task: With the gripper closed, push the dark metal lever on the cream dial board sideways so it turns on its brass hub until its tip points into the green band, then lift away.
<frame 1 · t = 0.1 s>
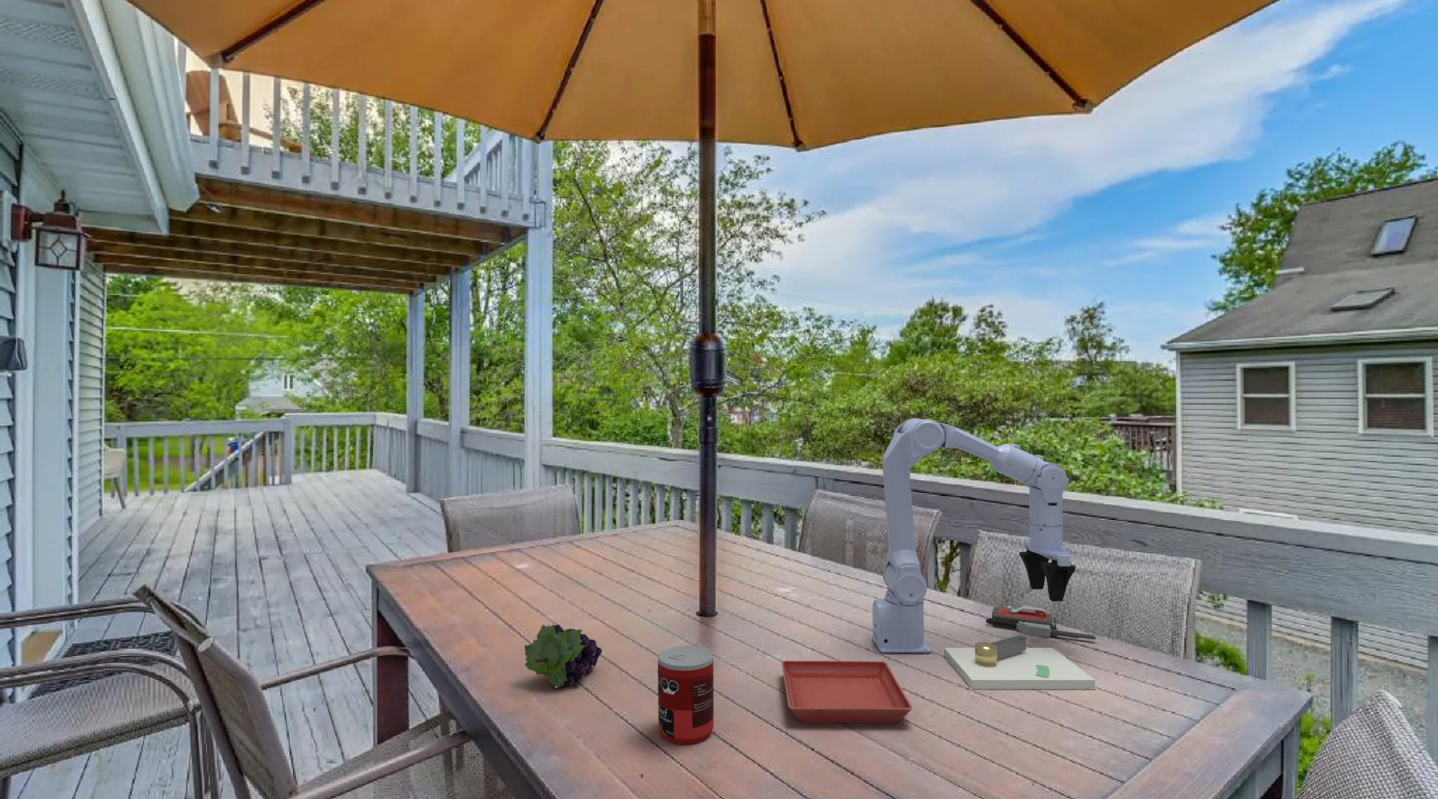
hand: (1046, 594, 125), 10 cm above the table, tool pointing down, fingers open, 7 cm apart
canned food: (686, 733, 94), on the table
walkie-talkie: (1038, 632, 134), on the table
dial board: (1014, 671, 114), on the table
fruit: (566, 681, 112), on the table
plant saucer: (841, 703, 103), on the table
dial lever: (1001, 649, 116), point 3 cm above the table, hinge at 30.0°
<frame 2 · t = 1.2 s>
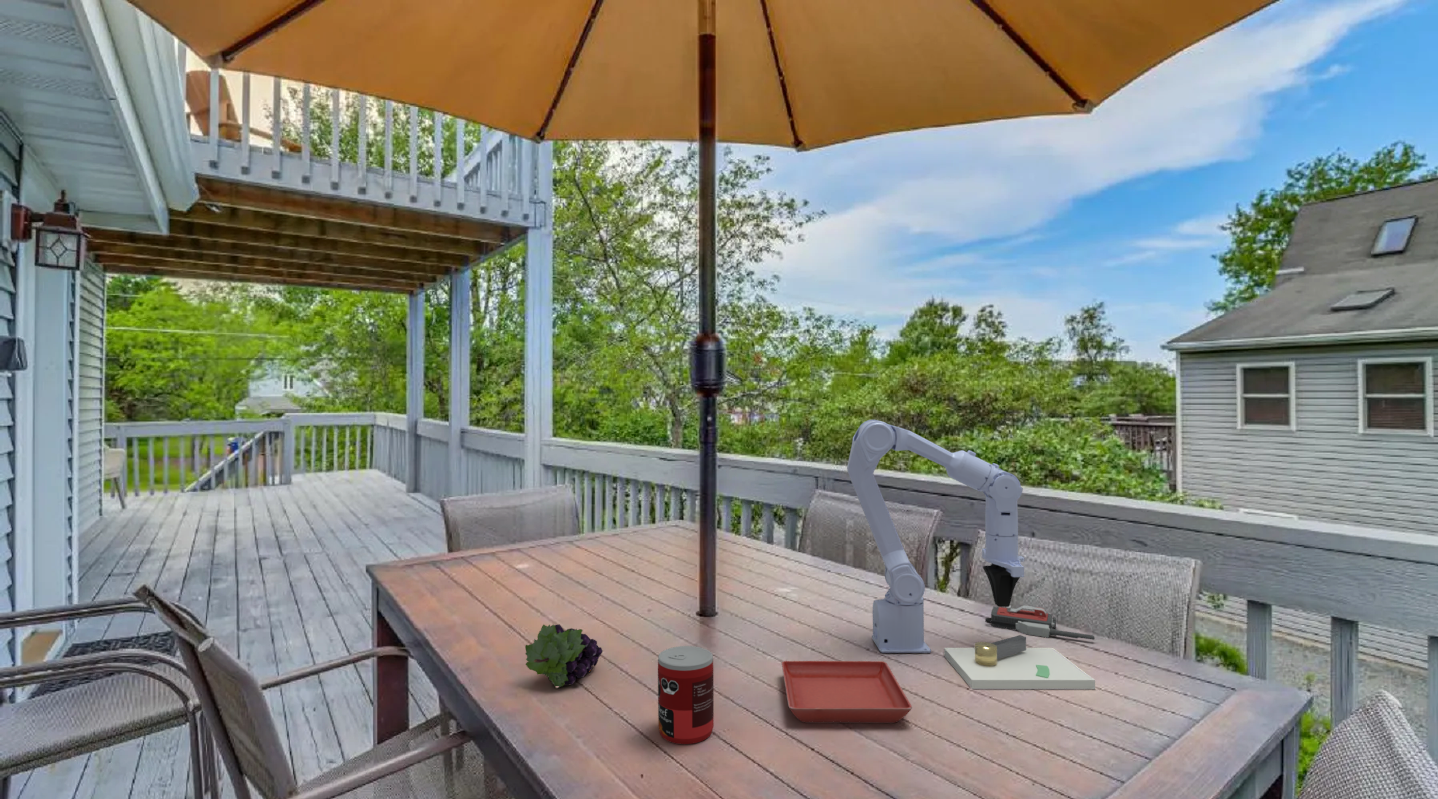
hand: (1002, 605, 124), 8 cm above the table, tool pointing down, fingers closed
nothing on the table moved.
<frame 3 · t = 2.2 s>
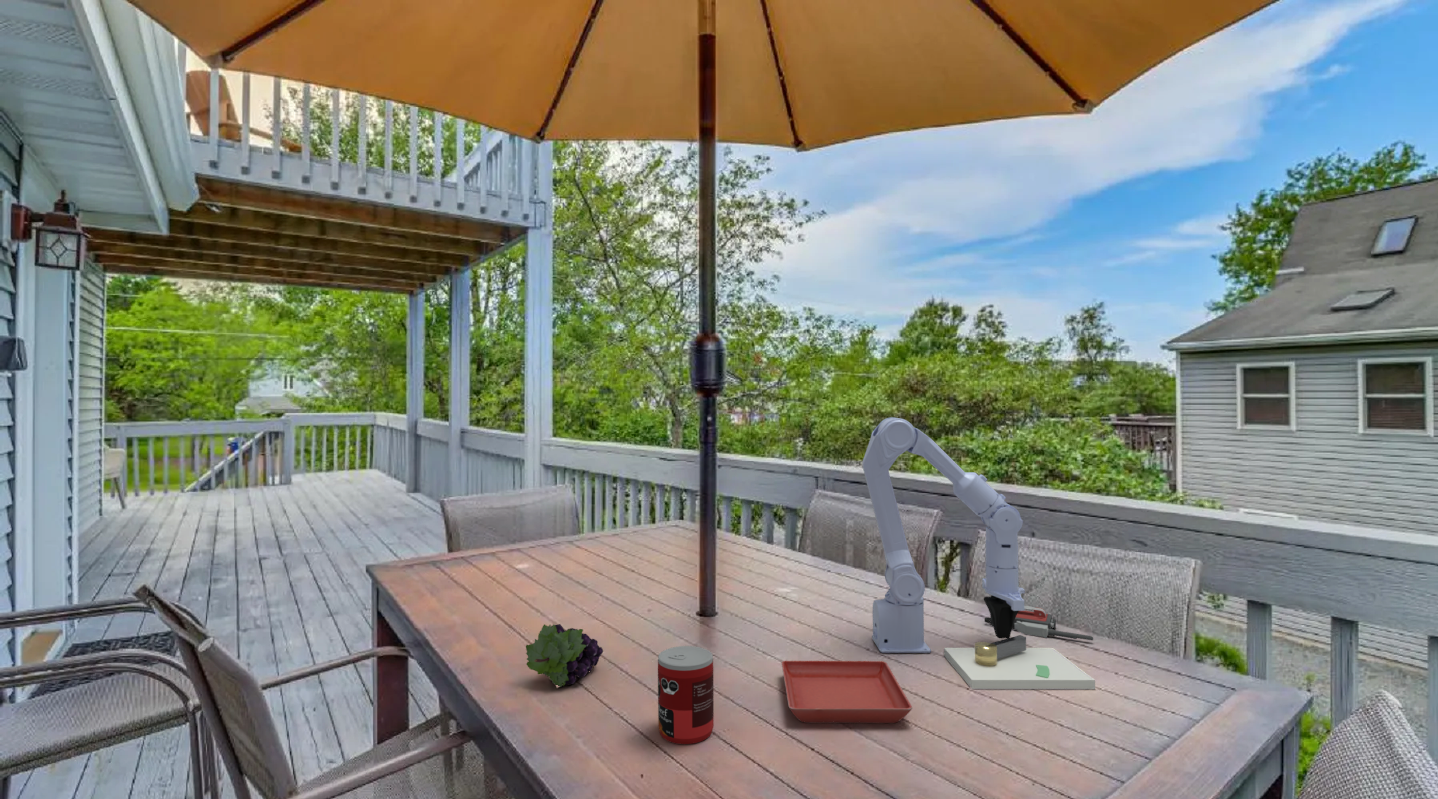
hand: (1002, 637, 124), 2 cm above the table, tool pointing down, fingers closed
nothing on the table moved.
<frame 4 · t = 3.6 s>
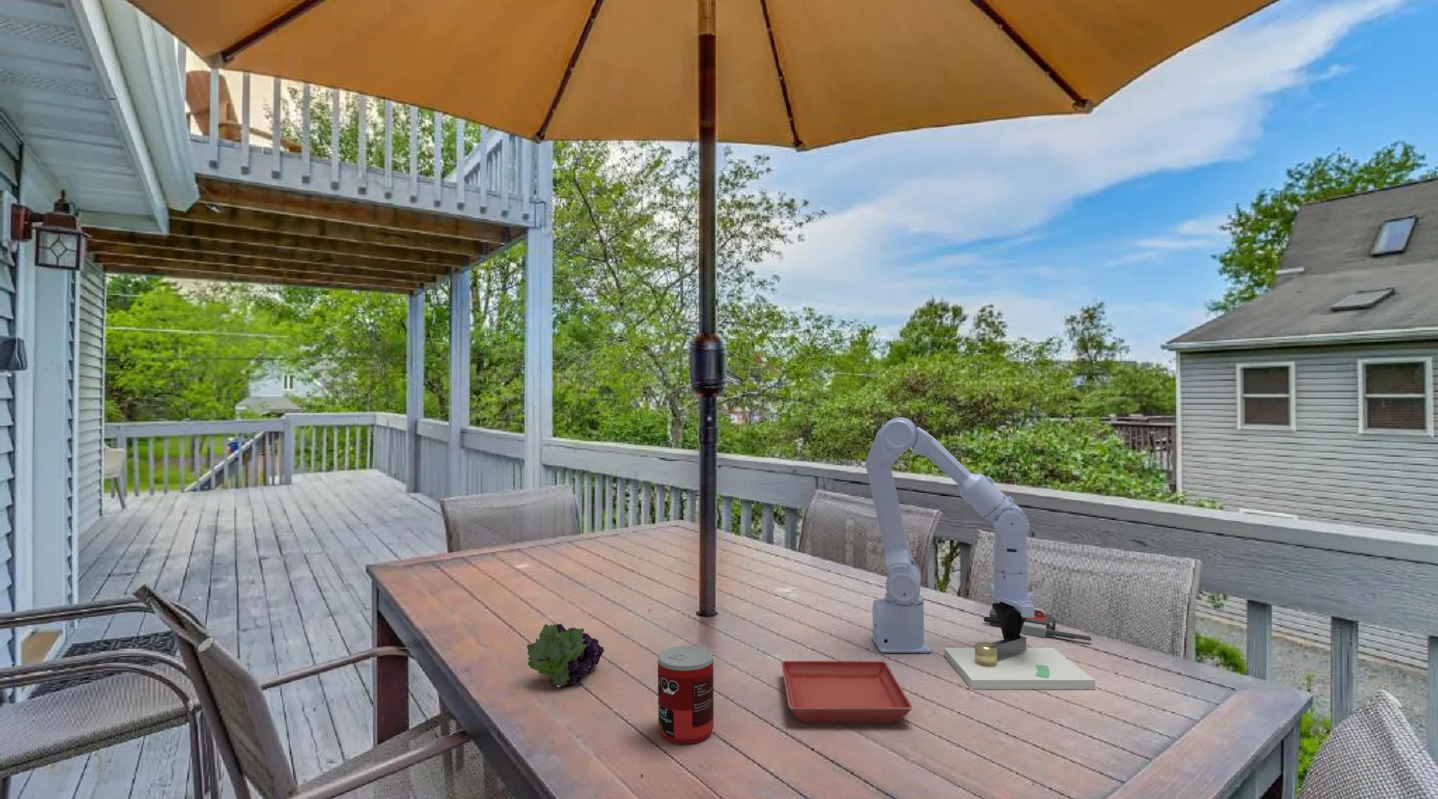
hand: (1011, 644, 120), 2 cm above the table, tool pointing down, fingers closed
dial lever: (1001, 649, 116), point 3 cm above the table, hinge at 29.6°, touching gripper
everything else where it was.
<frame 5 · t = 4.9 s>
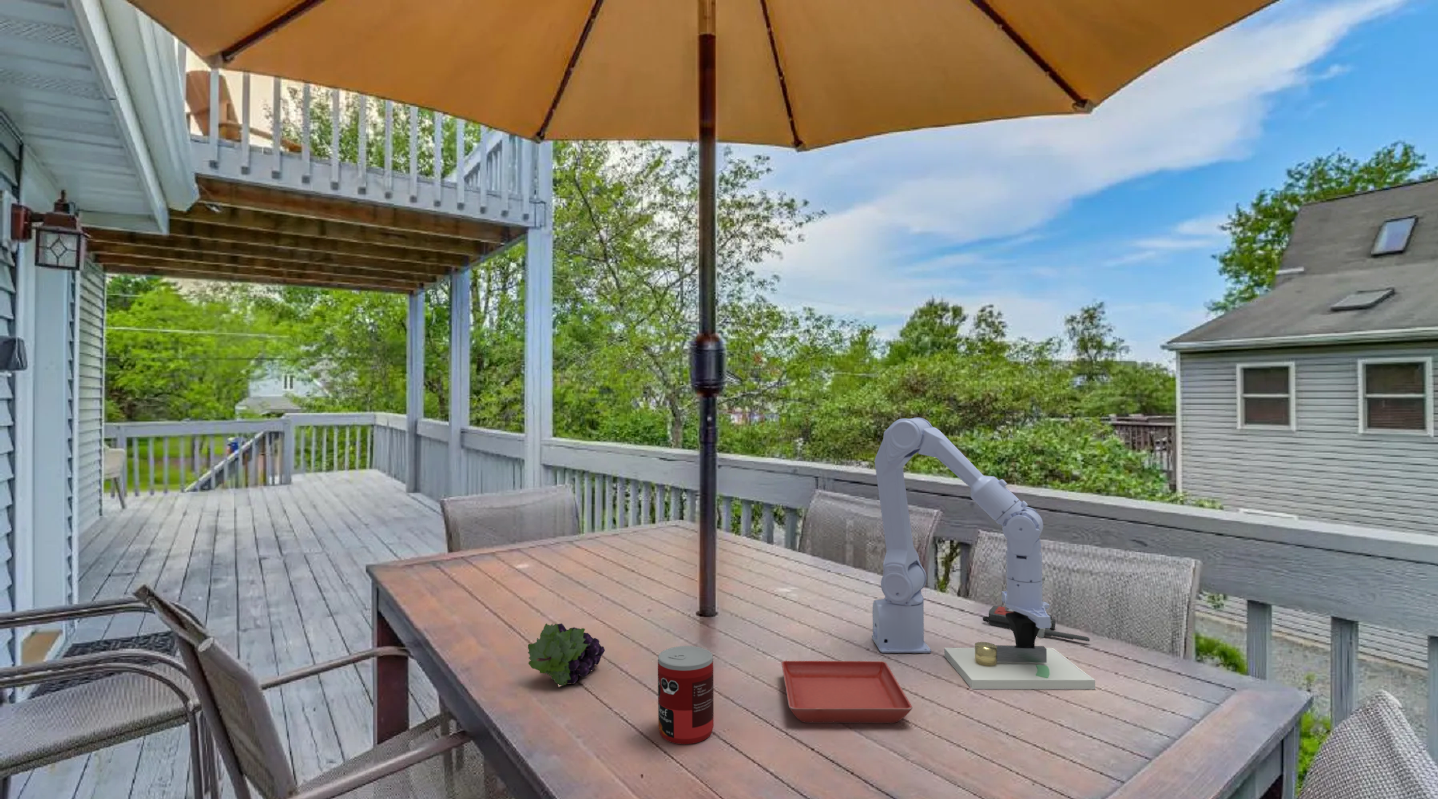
hand: (1025, 655, 114), 2 cm above the table, tool pointing down, fingers closed, pressing on dial lever
dial lever: (1010, 653, 113), point 3 cm above the table, hinge at -3.2°, touching gripper
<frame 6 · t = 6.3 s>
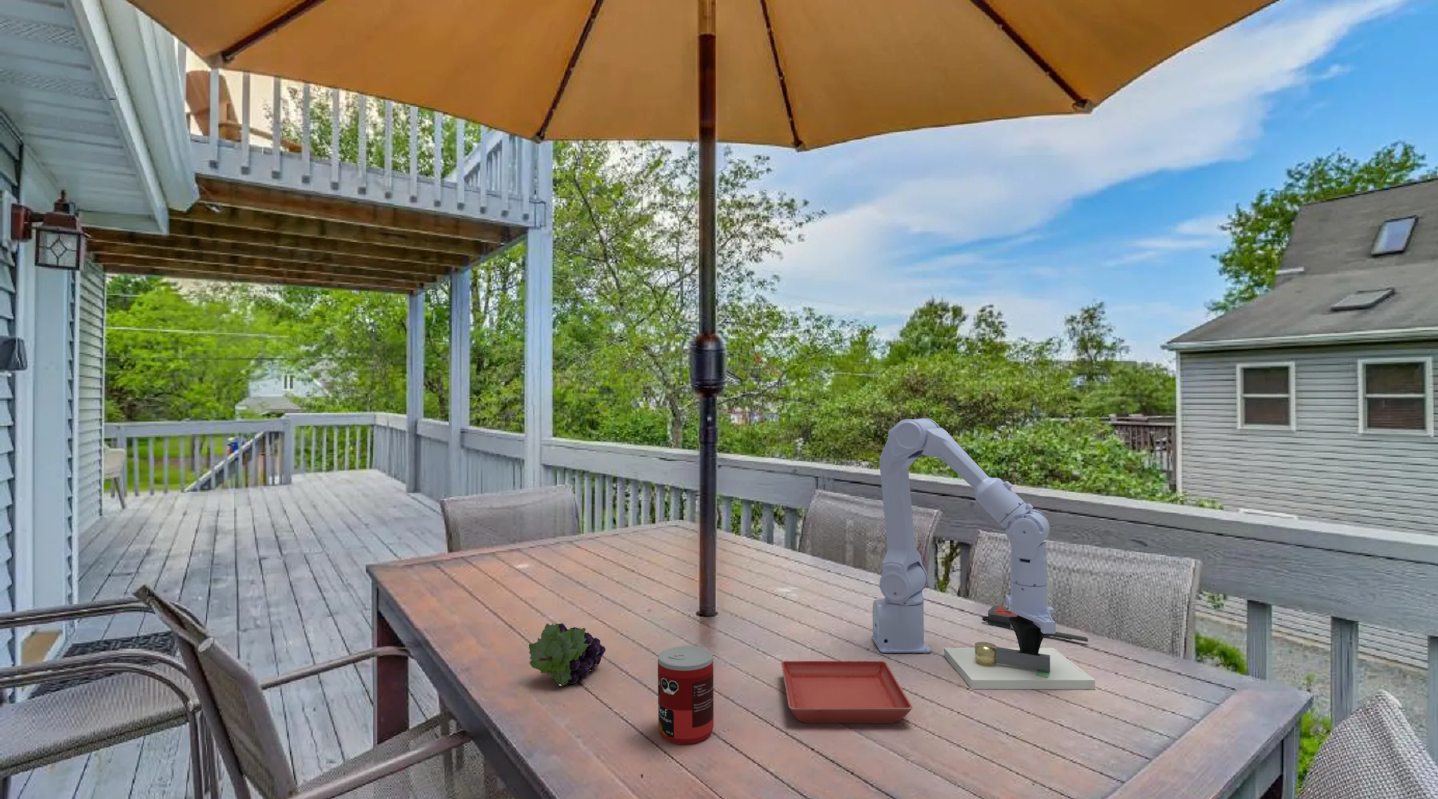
hand: (1029, 660, 112), 2 cm above the table, tool pointing down, fingers closed
dial lever: (1011, 657, 112), point 3 cm above the table, hinge at -27.0°, touching gripper
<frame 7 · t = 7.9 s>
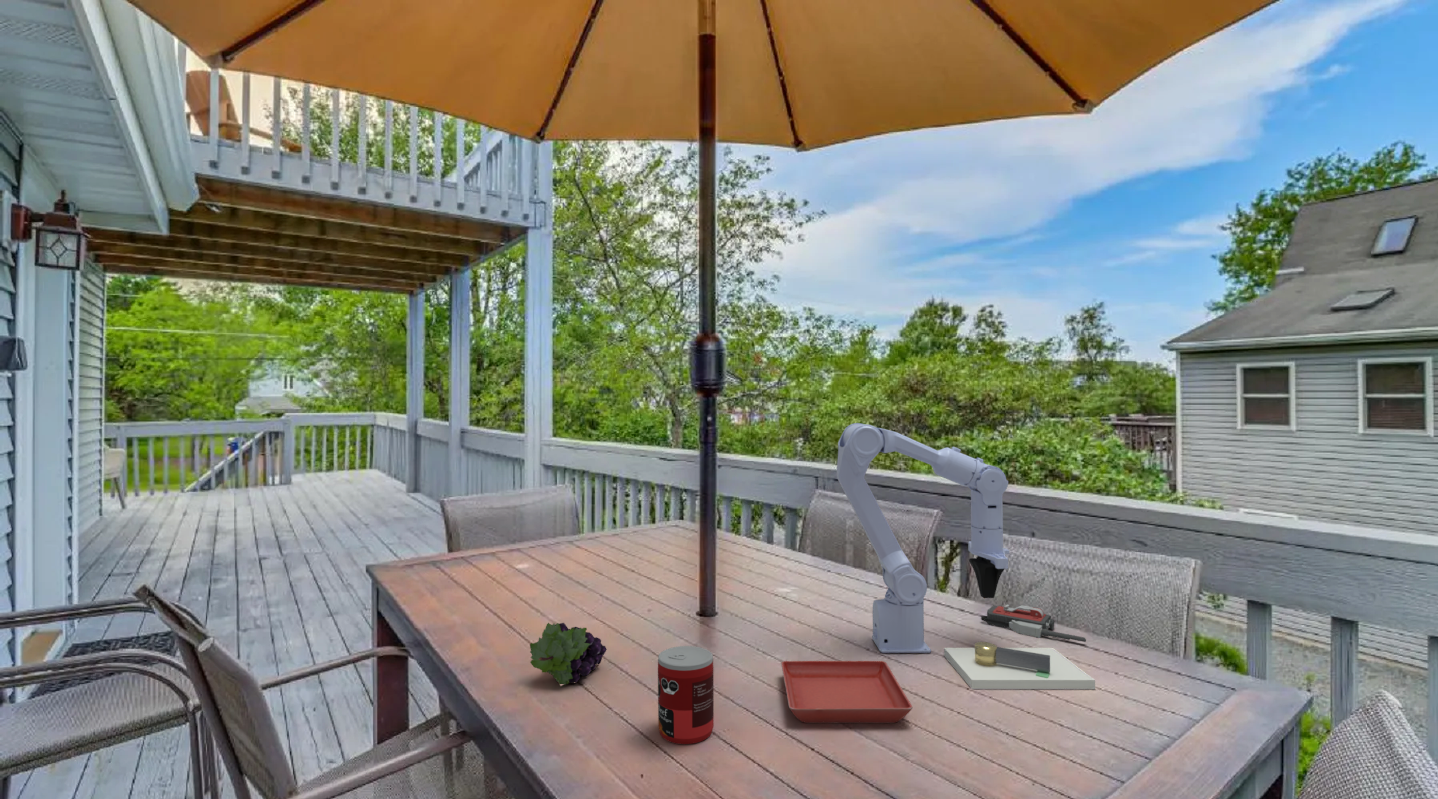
hand: (987, 597, 126), 9 cm above the table, tool pointing down, fingers closed
dial lever: (1011, 657, 112), point 3 cm above the table, hinge at -27.9°
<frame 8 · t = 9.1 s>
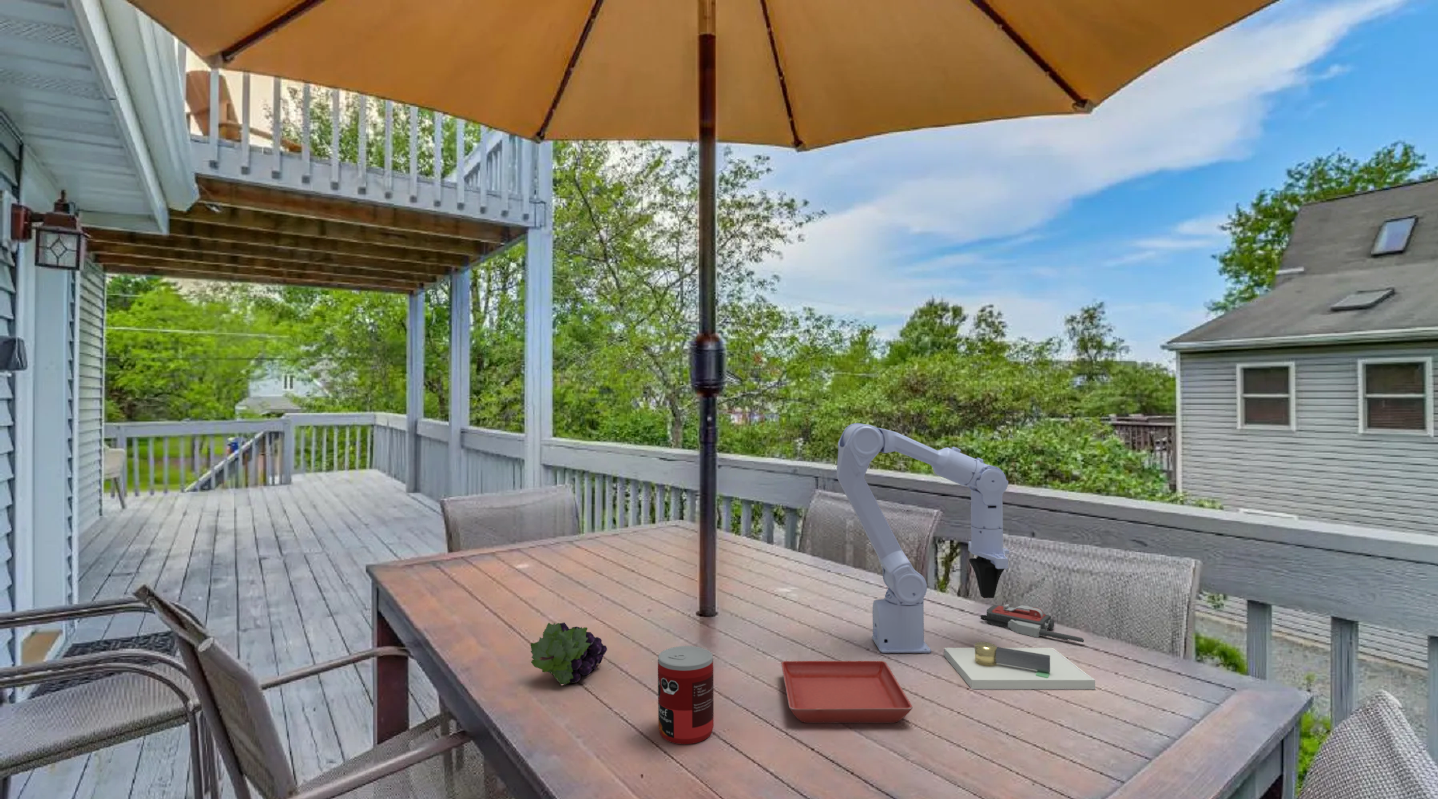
hand: (987, 597, 126), 9 cm above the table, tool pointing down, fingers closed
at the end: dial lever at -28° (first picture: +30°); walkie-talkie moved 1.5 cm from its start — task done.
